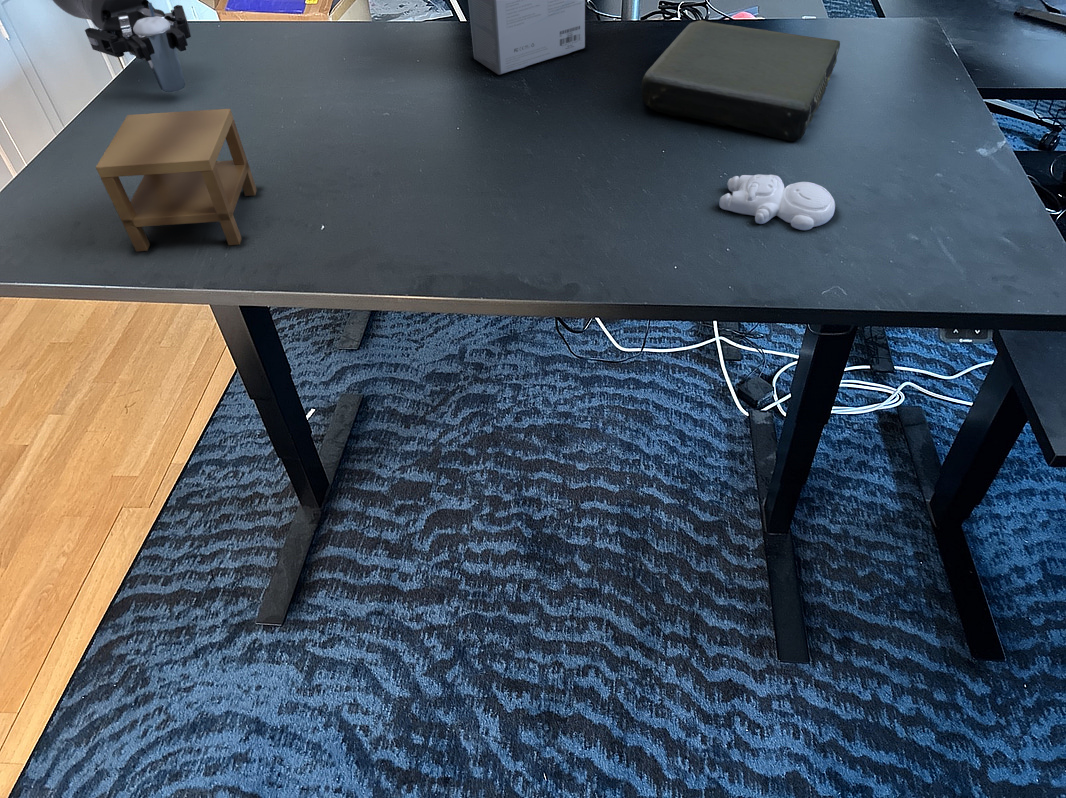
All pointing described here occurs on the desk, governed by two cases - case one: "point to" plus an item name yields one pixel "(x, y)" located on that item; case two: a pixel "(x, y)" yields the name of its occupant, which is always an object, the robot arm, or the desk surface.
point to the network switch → (742, 78)
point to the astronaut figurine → (779, 200)
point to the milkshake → (161, 51)
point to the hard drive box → (525, 31)
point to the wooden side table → (177, 171)
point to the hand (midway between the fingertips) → (164, 47)
